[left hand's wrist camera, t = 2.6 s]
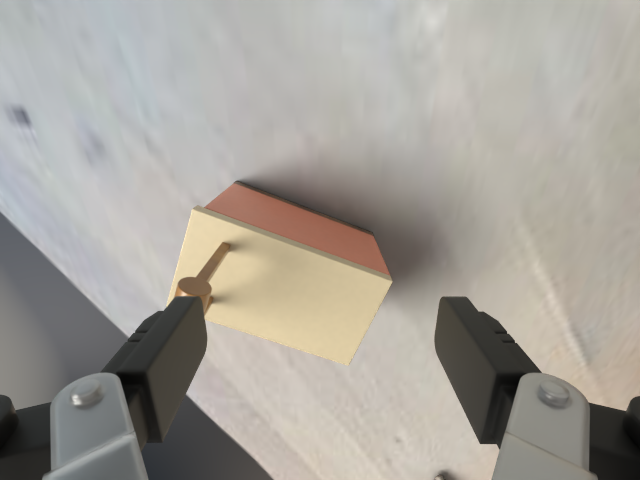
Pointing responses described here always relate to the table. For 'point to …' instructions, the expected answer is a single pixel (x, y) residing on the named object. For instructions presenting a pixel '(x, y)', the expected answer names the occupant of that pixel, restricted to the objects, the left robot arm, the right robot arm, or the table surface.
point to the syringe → (439, 477)
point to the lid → (277, 286)
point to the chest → (299, 224)
